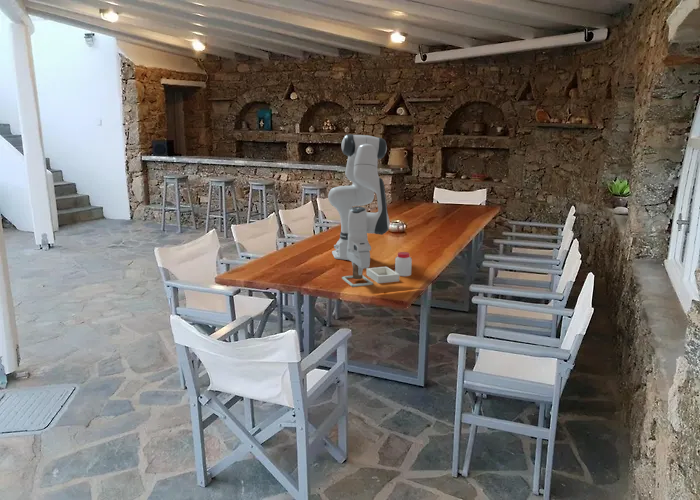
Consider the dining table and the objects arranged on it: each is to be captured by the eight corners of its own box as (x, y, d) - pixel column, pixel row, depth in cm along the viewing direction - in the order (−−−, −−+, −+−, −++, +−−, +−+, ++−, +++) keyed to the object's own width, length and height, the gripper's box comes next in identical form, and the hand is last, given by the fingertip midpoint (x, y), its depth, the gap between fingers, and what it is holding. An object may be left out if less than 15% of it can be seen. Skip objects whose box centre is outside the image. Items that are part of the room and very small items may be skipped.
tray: (341, 279, 248) (341, 276, 248) (361, 277, 252) (361, 274, 251) (352, 288, 236) (352, 284, 235) (373, 286, 239) (373, 282, 239)
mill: (351, 276, 244) (351, 263, 243) (360, 276, 246) (360, 262, 244) (354, 279, 240) (354, 265, 239) (363, 278, 242) (363, 264, 240)
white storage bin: (366, 276, 254) (366, 268, 253) (386, 274, 257) (386, 266, 256) (378, 285, 241) (378, 276, 240) (399, 282, 244) (399, 274, 243)
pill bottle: (410, 273, 260) (410, 251, 257) (412, 277, 252) (412, 255, 249) (394, 273, 259) (394, 251, 257) (396, 277, 252) (396, 255, 249)
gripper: (343, 239, 248) (343, 268, 251) (359, 248, 229) (359, 279, 232) (356, 238, 250) (356, 267, 253) (372, 247, 231) (372, 278, 234)
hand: (357, 273), depth 243 cm, fingers closed on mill, 4 cm apart
